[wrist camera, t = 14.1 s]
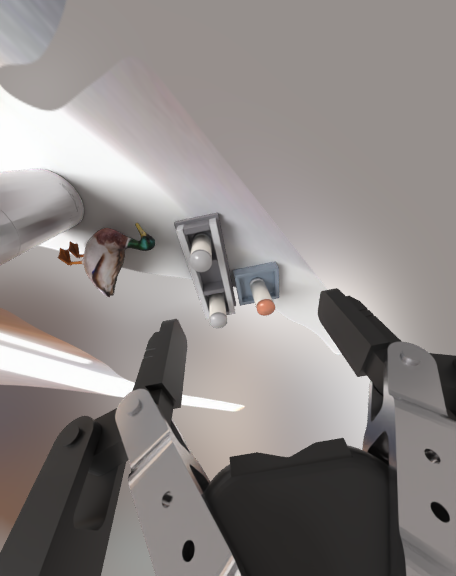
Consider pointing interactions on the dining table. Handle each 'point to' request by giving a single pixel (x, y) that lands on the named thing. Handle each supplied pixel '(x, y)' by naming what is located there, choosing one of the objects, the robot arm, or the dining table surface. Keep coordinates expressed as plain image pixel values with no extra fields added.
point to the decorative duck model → (106, 256)
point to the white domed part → (201, 253)
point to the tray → (264, 271)
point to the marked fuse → (261, 296)
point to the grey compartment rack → (218, 273)
